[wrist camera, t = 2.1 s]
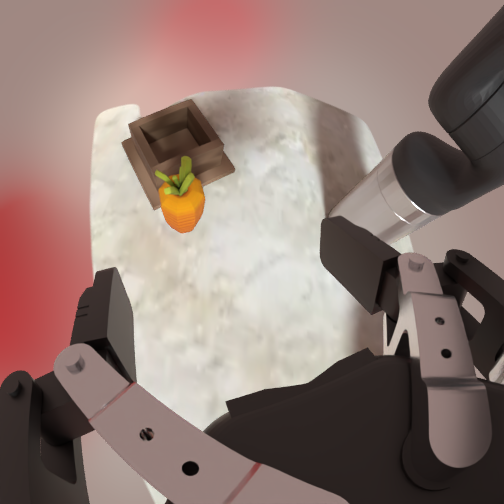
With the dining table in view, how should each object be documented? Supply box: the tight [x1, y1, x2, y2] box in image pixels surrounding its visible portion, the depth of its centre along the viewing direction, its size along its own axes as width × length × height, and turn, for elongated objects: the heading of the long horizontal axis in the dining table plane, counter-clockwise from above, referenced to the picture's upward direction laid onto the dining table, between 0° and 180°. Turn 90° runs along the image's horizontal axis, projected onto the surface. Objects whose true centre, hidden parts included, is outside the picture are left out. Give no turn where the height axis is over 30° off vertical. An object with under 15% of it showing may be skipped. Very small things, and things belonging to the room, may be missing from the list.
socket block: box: [121, 99, 235, 210], centre depth 38 cm, size 13×13×6 cm
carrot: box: [155, 156, 205, 233], centre depth 31 cm, size 5×5×15 cm
